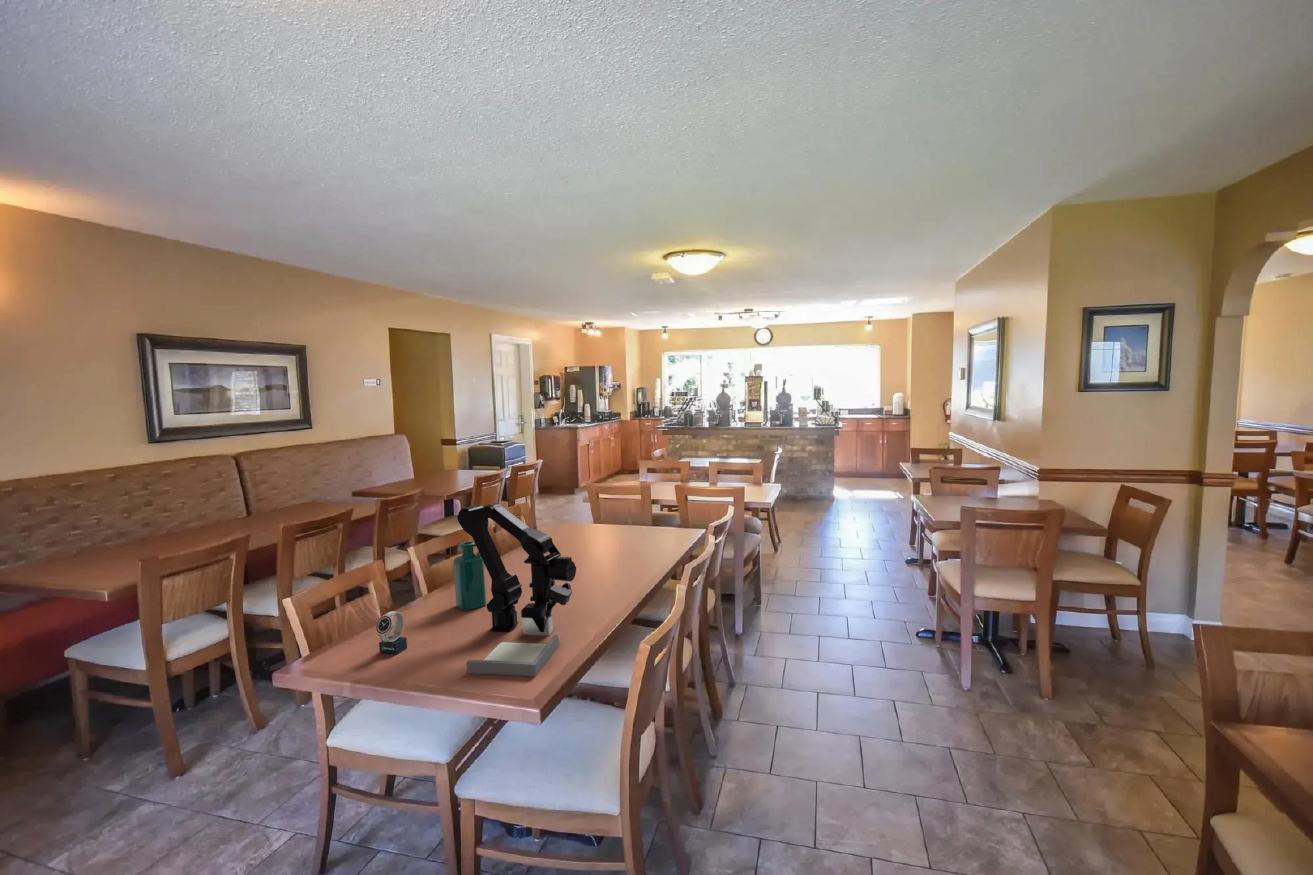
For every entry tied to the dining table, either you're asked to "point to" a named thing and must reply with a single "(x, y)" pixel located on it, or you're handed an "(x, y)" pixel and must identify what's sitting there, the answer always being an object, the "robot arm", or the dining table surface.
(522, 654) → the mat
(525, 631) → the bracket
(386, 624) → the watch
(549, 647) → the corner walls
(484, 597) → the green bottle
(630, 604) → the dining table surface
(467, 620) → the dining table surface
